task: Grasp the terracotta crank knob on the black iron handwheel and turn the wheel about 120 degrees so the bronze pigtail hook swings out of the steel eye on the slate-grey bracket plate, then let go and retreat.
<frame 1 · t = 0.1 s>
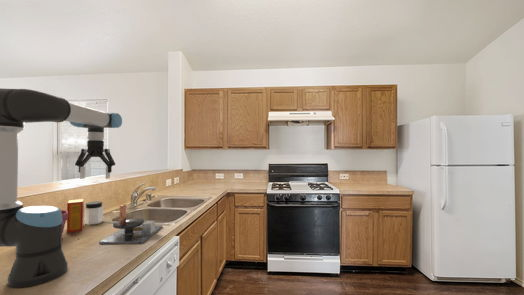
hand: (95, 178, 132), 28 cm above the worktop, fingers open, 13 cm apart
handwheel: (132, 217, 123), point 9 cm above the worktop, hinge at 0.0°
jar: (93, 223, 144), on the worktop
eye bracket: (129, 234, 123), on the worktop
plant pot: (49, 240, 116), on the worktop
baking soda box: (75, 229, 132), on the worktop
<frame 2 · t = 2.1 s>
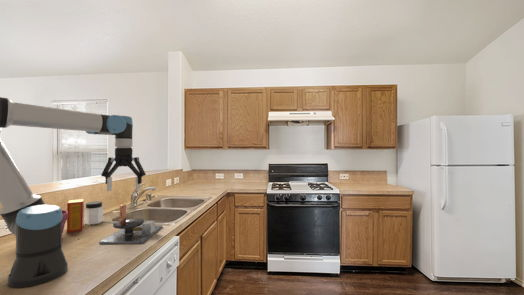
hand: (123, 190, 117), 24 cm above the worktop, fingers open, 13 cm apart
nothing on the worktop moved.
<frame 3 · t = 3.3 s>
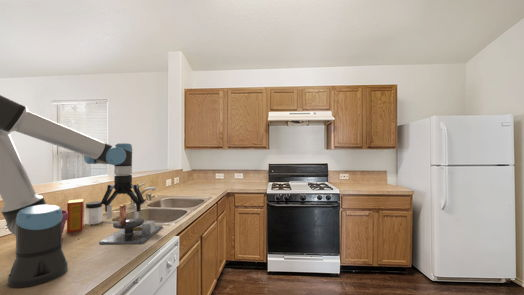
hand: (122, 218, 117), 10 cm above the worktop, fingers open, 12 cm apart
nothing on the worktop moved.
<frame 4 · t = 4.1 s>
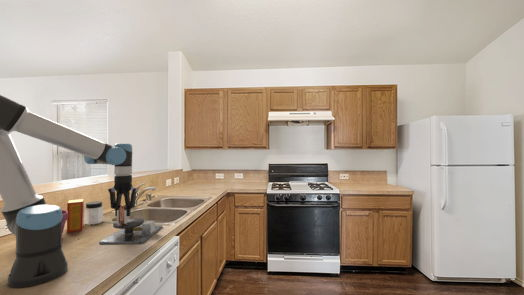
hand: (122, 222, 117), 8 cm above the worktop, fingers closed on handwheel, 3 cm apart
handwheel: (132, 217, 123), point 9 cm above the worktop, hinge at 0.0°, touching gripper
everything else where it was.
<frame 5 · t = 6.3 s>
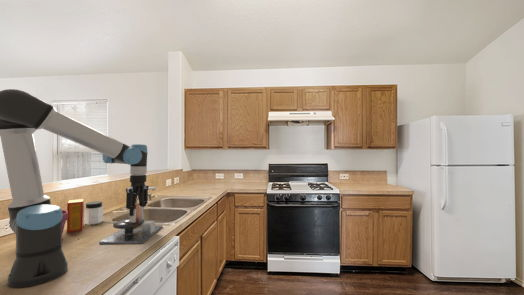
hand: (136, 220, 121), 8 cm above the worktop, fingers open, 5 cm apart
handwheel: (132, 216, 124), point 9 cm above the worktop, hinge at 57.7°, touching gripper
everything else where it was.
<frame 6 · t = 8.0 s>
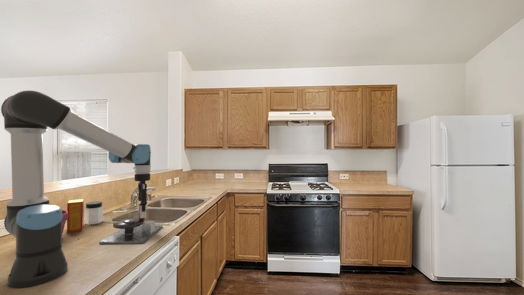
hand: (142, 215, 126), 9 cm above the worktop, fingers open, 10 cm apart
handwheel: (130, 216, 125), point 9 cm above the worktop, hinge at 106.9°
everything else where it was.
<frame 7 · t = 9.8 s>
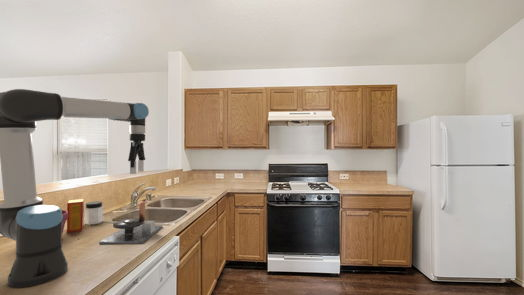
hand: (137, 172, 130), 31 cm above the worktop, fingers open, 13 cm apart
nothing on the worktop moved.
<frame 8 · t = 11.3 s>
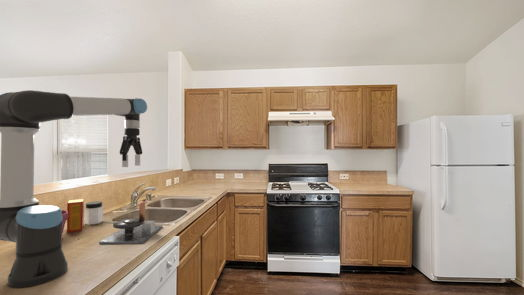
hand: (131, 166, 133), 35 cm above the worktop, fingers open, 13 cm apart
nothing on the worktop moved.
at the end: handwheel at +107° (first picture: +0°); the gripper is holding nothing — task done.
